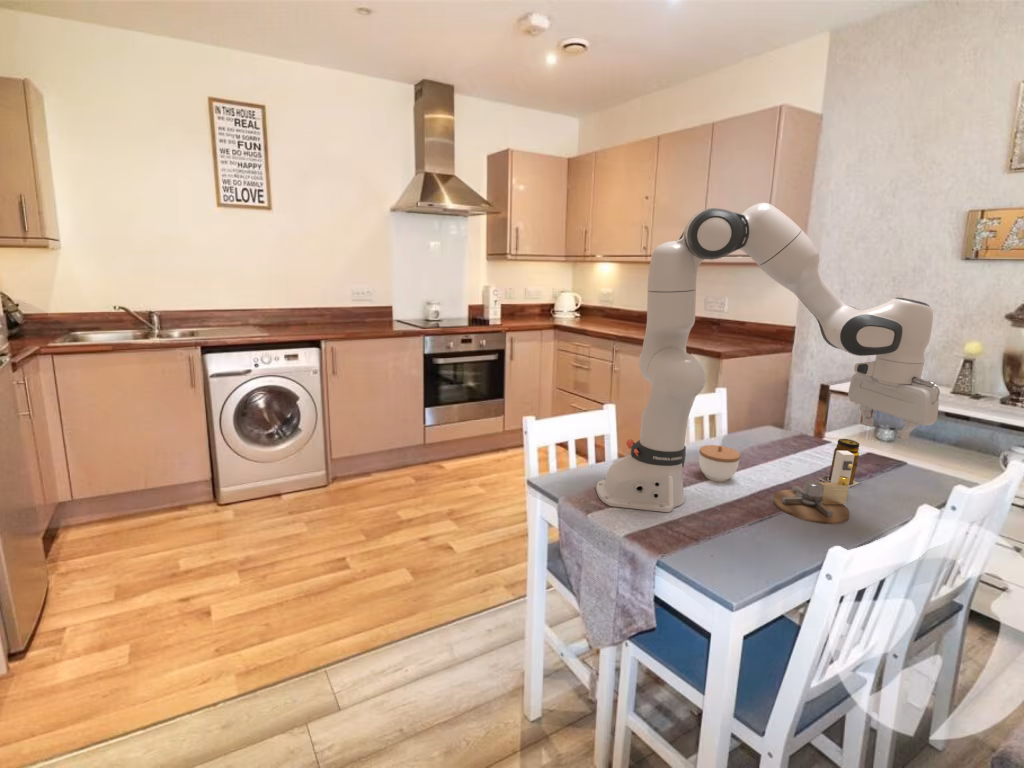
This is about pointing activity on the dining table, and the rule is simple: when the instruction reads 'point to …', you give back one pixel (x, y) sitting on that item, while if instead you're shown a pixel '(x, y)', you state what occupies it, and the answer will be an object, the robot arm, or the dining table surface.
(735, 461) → the lidded jar
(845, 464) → the post
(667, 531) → the dining table surface
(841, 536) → the dining table surface
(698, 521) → the dining table surface
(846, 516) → the foot plate
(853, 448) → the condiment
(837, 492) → the capstan
